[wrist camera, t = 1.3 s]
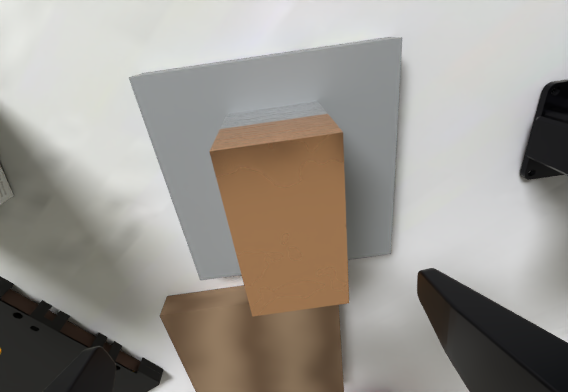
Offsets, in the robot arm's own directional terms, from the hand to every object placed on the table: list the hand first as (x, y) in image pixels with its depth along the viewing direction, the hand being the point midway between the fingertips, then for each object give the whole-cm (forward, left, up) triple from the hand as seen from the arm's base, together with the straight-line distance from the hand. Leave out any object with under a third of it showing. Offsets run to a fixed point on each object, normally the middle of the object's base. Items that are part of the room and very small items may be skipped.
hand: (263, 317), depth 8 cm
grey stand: (-1, +1, -13) cm, 13 cm away
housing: (-1, +1, -11) cm, 11 cm away
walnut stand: (+3, +18, -13) cm, 22 cm away
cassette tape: (+23, +16, -14) cm, 31 cm away
